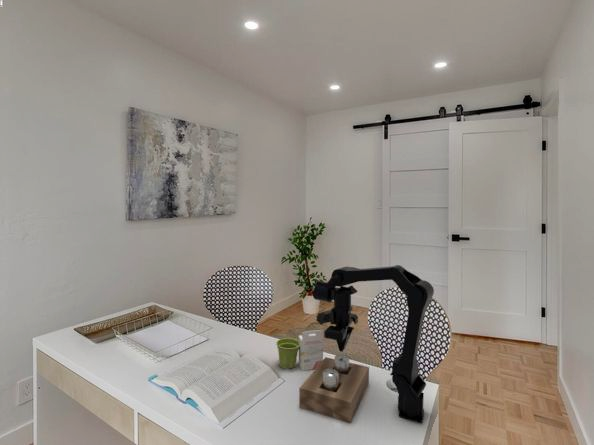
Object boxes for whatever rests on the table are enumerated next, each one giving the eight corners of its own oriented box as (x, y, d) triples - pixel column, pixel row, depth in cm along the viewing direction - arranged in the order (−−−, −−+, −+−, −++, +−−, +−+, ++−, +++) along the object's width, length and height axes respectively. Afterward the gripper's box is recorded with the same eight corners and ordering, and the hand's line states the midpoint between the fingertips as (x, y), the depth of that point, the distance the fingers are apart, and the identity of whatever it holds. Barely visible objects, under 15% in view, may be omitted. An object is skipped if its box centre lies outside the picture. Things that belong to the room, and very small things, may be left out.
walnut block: (368, 384, 109) (369, 367, 109) (350, 423, 89) (350, 402, 89) (325, 373, 116) (325, 357, 116) (299, 407, 96) (299, 388, 96)
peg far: (350, 372, 108) (350, 356, 108) (346, 379, 104) (346, 362, 104) (337, 369, 110) (337, 353, 110) (332, 375, 106) (332, 359, 106)
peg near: (340, 389, 98) (340, 371, 98) (335, 397, 94) (335, 378, 94) (326, 385, 101) (326, 367, 100) (320, 393, 96) (320, 374, 96)
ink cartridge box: (318, 361, 124) (319, 325, 124) (323, 368, 120) (323, 329, 119) (297, 364, 122) (298, 327, 121) (301, 371, 117) (301, 332, 117)
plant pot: (300, 360, 126) (301, 338, 125) (298, 372, 116) (299, 349, 116) (277, 358, 127) (278, 337, 126) (273, 370, 117) (274, 347, 117)
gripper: (329, 295, 118) (329, 336, 119) (309, 309, 101) (308, 357, 102) (358, 298, 113) (358, 341, 114) (342, 314, 96) (342, 364, 97)
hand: (341, 350), depth 107 cm, fingers closed
